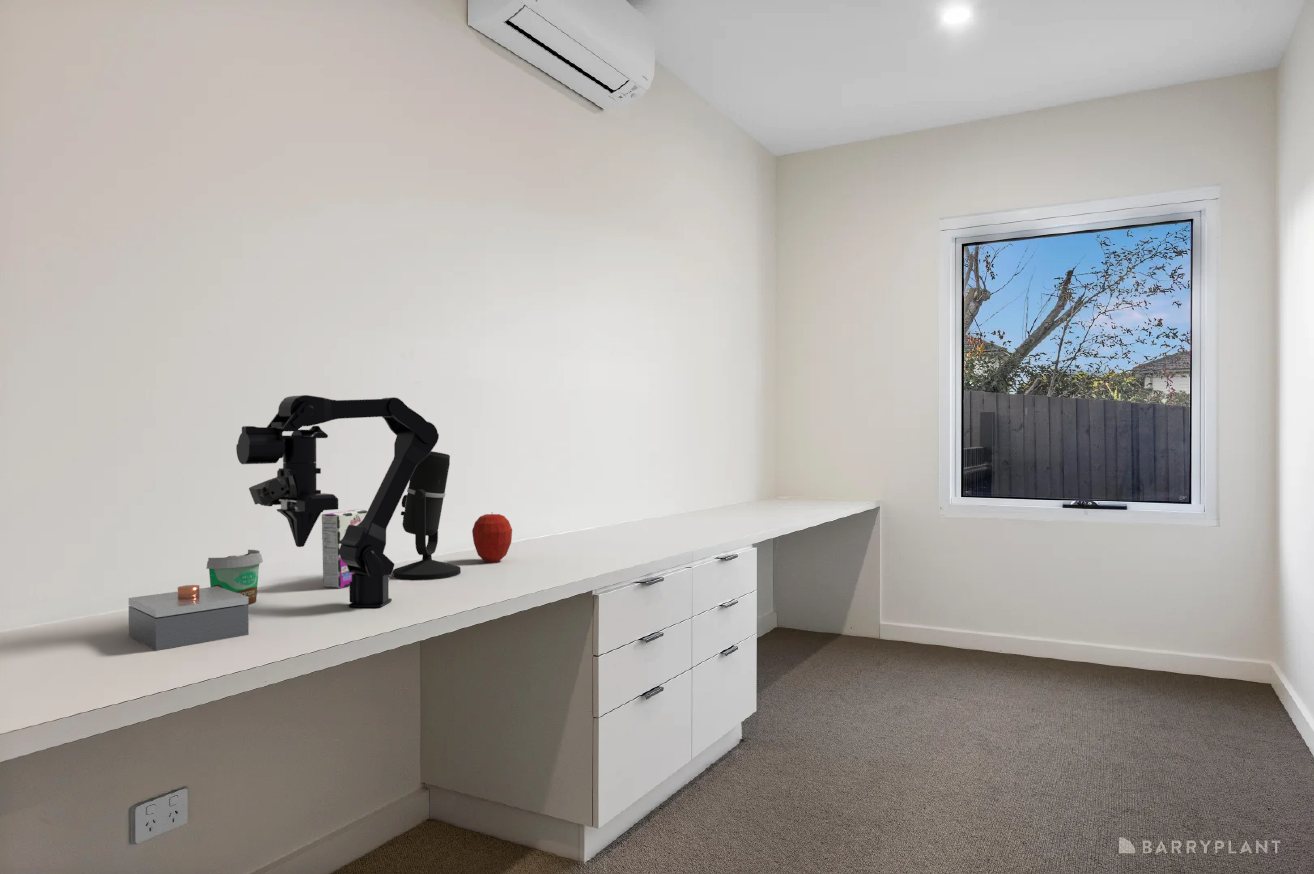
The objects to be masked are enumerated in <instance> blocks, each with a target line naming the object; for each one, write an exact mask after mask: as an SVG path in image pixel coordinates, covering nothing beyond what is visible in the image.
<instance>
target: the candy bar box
mask: <svg viewBox="0 0 1314 874" xmlns="http://www.w3.org/2000/svg"><path fill="white" fill-rule="evenodd" d="M367 511H368V509H364V508H363V509H359V508H357V509H351V510H350V509H349V510H343V511H337V512H335V511H334V512H330V513H324V514H321V535H322V536H321V539H322V540H321V541H322V543H321V545H322V582H323V585H322V586H323V588H327V589H342V588H347V587H349V583H350V582H351V581H352V574H354V573H353V572H352V573H351V572H349V570H348V567H347V565H346V564H345V563H344V562H343V561H342V559H341V557H340V554H339V549H340V546H341V544H339V542H340V541H341V540H342V538H343V537H344V535H345V532H346V529H347V527H348V525H355V526H357V525H358V524H359V523H360V522H362V521H363V519H364V517H365V515H366V513H367Z"/></svg>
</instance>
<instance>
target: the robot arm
mask: <svg viewBox="0 0 1314 874" xmlns="http://www.w3.org/2000/svg"><path fill="white" fill-rule="evenodd" d="M358 418H359V419H360V418H361V419H362V418H382V419H383V420H384V421H385V423H386V424H387V426H388V428H389V430H390V431H391V432H392V433H394V435H396V436H395V440H394V445H393V446H394V447H393V448H394V449H393V450H394V451H393V452H394V457H393V459H392V461H391V463H390V465H389V467H388V469H387V471H386V472H385V475H384V477H383V480H382V482H381V483H380V485H379V487H378V489H377V491H376V494H375V495H374V497H373V500H372V502H371V504H370V505H369V508H368V509H367V510H368V511H367V513H366V515H365V517H364V519H363V521H362V522H360V523H359V524H358V525H357V526H355V525H348V527H347V529H346V532H345V535H344V537H343V538H342V540H341V541H340V542H339V544H341V546H340V549H339V554H340V557H341V559H342V561H343V562H344V563H345V564H346V565H347V567H348V570H349V572H351V573H352V572H353V573H354V574H352V581H351V582H350V583H349V586H348V587H349V591H348V592H349V594H348V595H349V604H347V605H348V608H382V607H383V606H385V605H387V604H389V603H391V602H392V600H393V599H392V598H389V592H390V591H389V589H390V588H389V581H390V580H389V575H393V570H394V569H395V568H394V567H395V563H394V562H393V561H392V560H391V559H390V558H389V557H388V556H387V555H386V554H385V553H384V551H385V548H386V546H387V545H386V544H387V529H388V526H389V523H390V521H391V520H392V518H393V515H394V514H395V512H396V509H397V507H398V505H399V503H400V501H401V500H402V498H403V495H404V492H405V491H406V490H407V489H406V488H408V486H409V482H410V478H411V476H412V474H413V472H414V470H415V468H416V466H417V465H418V464H419V463H420V462H421V461H422V460H423V459H424V458H426V457H427V456H428V455H429V454H430V452H431V451H433V450H434V448H435V446H436V445H437V443H438V441H439V435H440V434H439V433H438V429H437V427H436V426H435V425H434V423H432V422H430V421H427V420H425V418H424V416H422V415H420V414H419V413H418V412H416V411H415V410H413V409H412V408H410V407H408V406H407V405H406V404H405V402H404V401H403V400H402V399H400V398H398V397H395V396H394V397H382V398H378V399H377V398H374V399H373V398H371V399H369V398H368V399H367V398H365V399H340V400H339V399H330V398H326V397H322V396H315V395H307V394H303V395H290V396H286V397H284V398H283V399H282V400H281V401H280V402H279V405H278V411H277V413H276V414H275V415H274V417H273V418H272V419H271V421H270V422H269V424H268V425H267V426H266V427H259V426H258V427H257V426H254V425H253V426H251V425H245V426H244V425H243V426H242V427H241V433H240V434H239V437H238V441H237V443H236V446H235V447H236V457H237V459H238V462H239V463H240V464H241V465H262V464H263V465H265V464H266V465H268V464H269V465H270V464H277V463H278V462H279V460H280V459H282V467H281V468H278V470H277V471H276V473H277V474H276V477H273V478H270V479H267V480H265V481H262V482H260V483H257V484H255V485H252V486H250V487H249V488H248V490H249V493H250V496H251V498H252V500H253V503H254V505H261V506H264V507H273V506H280V508H278V509H276V511H277V512H278V513H280V514H281V515H282V516H284V517H285V518H286V520H287V523H288V525H289V527H290V531H291V533H292V534H291V535H292V537H293V540H294V543H295V546H296V547H297V548H303V547H305V545H306V543H307V540H308V539H309V536H310V534H311V533H312V531H313V528H314V526H315V525H316V523H317V520H318V519H319V517H320V516H321V515H322V513H324V511H333V510H339V498H338V497H337V496H336V495H335V494H333V493H325V492H323V493H322V490H321V489H317V474H318V475H319V474H322V469H321V467H317V439H328V437H329V434H327V432H325V431H324V430H323V429H322V428H321V427H320V426H319V424H324V423H327V422H331V421H334V420H338V419H358ZM310 426H311V427H310ZM302 427H310V428H309V429H302ZM300 428H301V429H300ZM284 432H292V433H291V435H283V433H284Z"/></svg>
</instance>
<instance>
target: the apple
mask: <svg viewBox="0 0 1314 874" xmlns="http://www.w3.org/2000/svg"><path fill="white" fill-rule="evenodd" d="M472 527H473V528H472V530H471V533H472V540H473V545H474V547H475V550H476V553H477V555H478V557H480V559H481V560H483V561H484V562H486V563H492V564H493V563H497V562H500V561H501V560H502V559H503V558H504V557H506V556H507V554H508V552H509V549H510V546H511V544H512V538H513V537H512V536H513V528H512V526H511V523H510V520H508V518H507V517H506V516H505V515H503V514H500V513H490V514H489V513H486V514H483V515H481V516H479V517H478V518H477V519H476V520H475V522H474V524H473V526H472Z"/></svg>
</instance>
